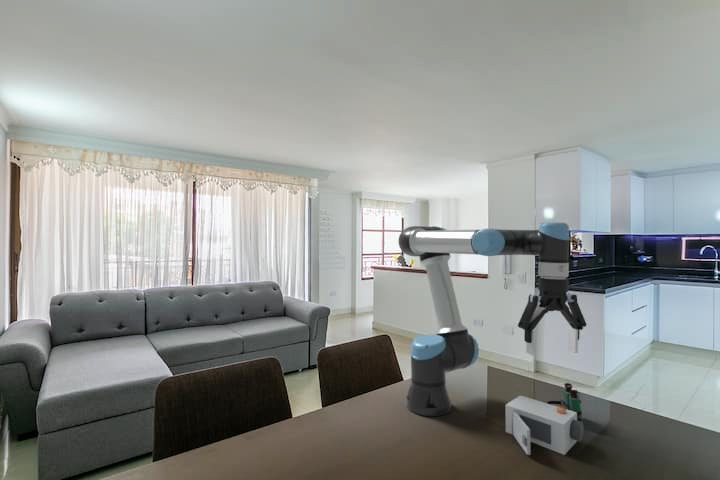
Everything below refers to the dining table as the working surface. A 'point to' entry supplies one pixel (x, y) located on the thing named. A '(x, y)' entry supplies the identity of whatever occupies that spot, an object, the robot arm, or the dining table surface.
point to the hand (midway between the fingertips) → (551, 352)
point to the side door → (521, 432)
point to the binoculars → (570, 401)
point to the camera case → (546, 423)
